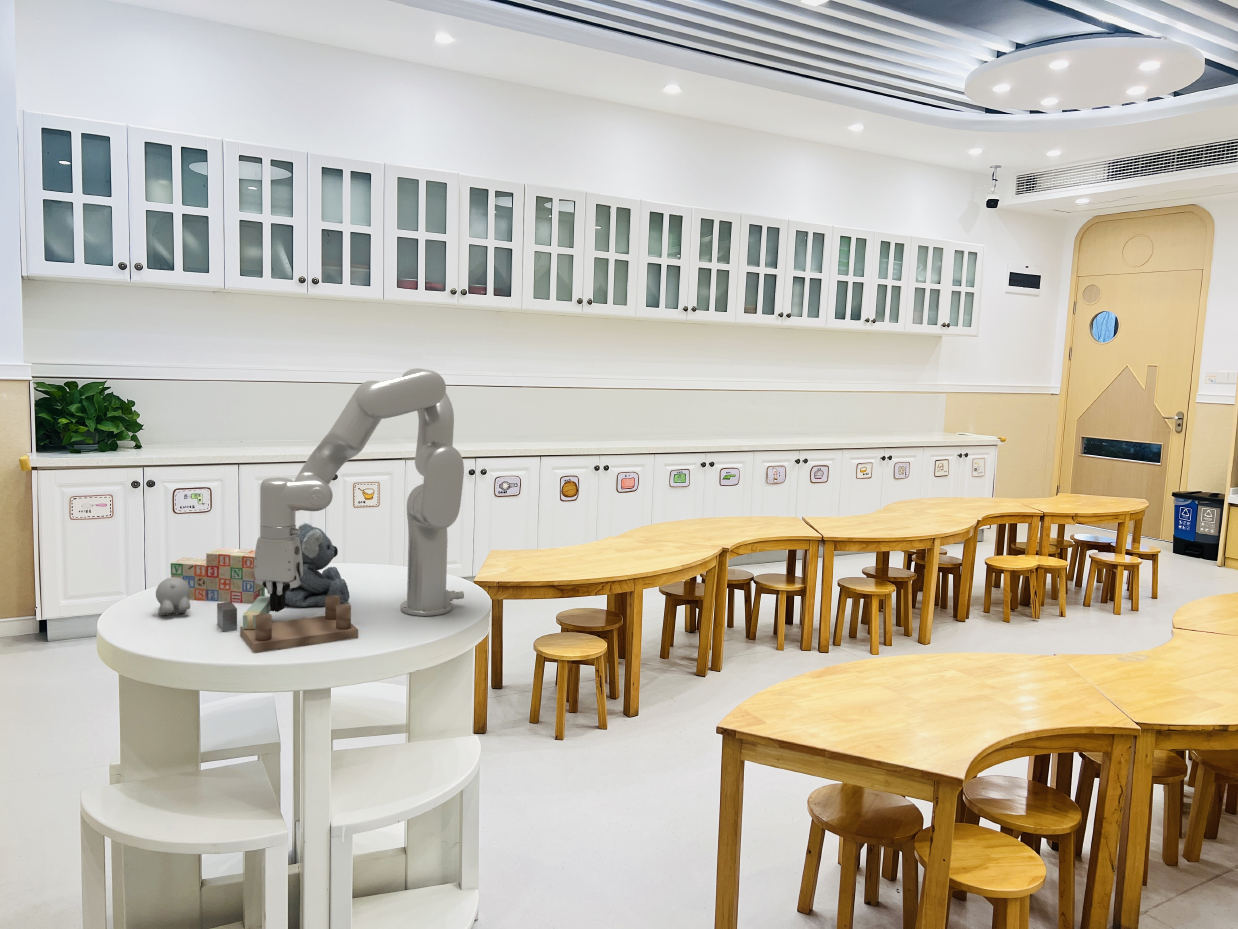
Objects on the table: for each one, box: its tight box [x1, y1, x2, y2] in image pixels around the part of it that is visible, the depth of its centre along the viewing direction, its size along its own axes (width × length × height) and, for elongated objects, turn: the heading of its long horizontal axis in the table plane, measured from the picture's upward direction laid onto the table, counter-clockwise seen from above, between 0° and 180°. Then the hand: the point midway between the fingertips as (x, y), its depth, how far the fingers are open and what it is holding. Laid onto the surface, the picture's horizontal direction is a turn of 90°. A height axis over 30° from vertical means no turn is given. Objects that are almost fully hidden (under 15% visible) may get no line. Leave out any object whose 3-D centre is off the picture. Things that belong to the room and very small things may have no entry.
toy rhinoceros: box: [155, 576, 191, 616], centre depth 207 cm, size 7×12×8 cm, turn 35°
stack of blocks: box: [170, 547, 266, 605], centre depth 220 cm, size 21×6×12 cm, turn 87°
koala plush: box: [285, 522, 350, 608], centre depth 221 cm, size 17×18×20 cm
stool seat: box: [239, 595, 359, 654], centre depth 194 cm, size 22×13×7 cm, turn 125°
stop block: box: [216, 602, 238, 633], centre depth 198 cm, size 3×6×5 cm, turn 35°
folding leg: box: [242, 595, 272, 629], centre depth 198 cm, size 15×3×3 cm, turn 10°
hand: (277, 609), depth 202 cm, fingers closed
